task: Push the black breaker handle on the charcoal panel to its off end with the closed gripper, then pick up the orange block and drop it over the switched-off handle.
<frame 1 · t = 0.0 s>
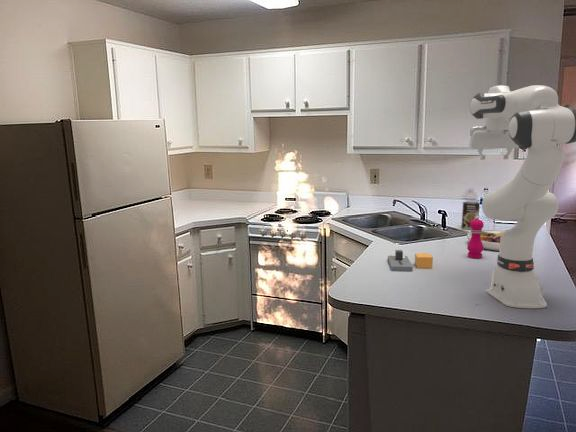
hand: (494, 159, 195), 48 cm above the worktop, tool pointing down, fingers open, 8 cm apart
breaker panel: (399, 265, 211), on the worktop
orange block: (423, 265, 210), on the worktop
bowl: (497, 245, 243), on the worktop
breaker handle: (399, 254, 213), point 4 cm above the worktop, slide at 7.0 cm
coffee box: (469, 229, 280), on the worktop
pepper mill: (474, 257, 222), on the worktop
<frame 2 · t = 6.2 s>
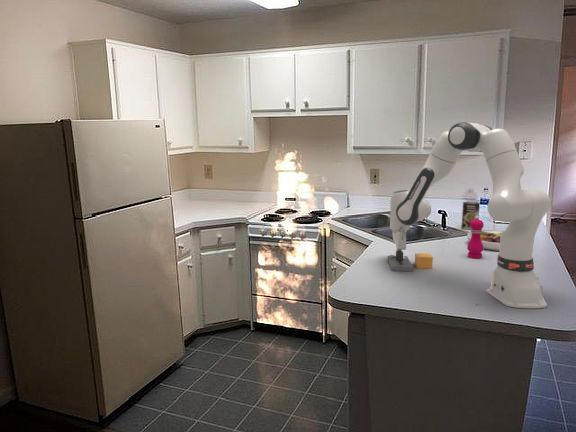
hand: (398, 254, 215), 4 cm above the worktop, tool pointing down, fingers closed
breaker handle: (399, 255, 212), point 4 cm above the worktop, slide at 5.6 cm, touching gripper
everything else where it was.
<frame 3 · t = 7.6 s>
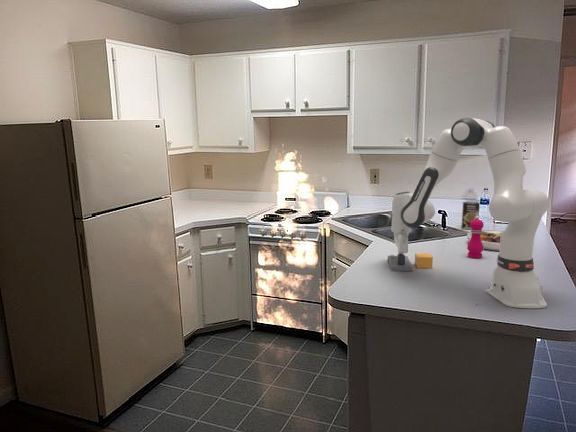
hand: (400, 257, 209), 4 cm above the worktop, tool pointing down, fingers closed
breaker handle: (401, 259, 206), point 4 cm above the worktop, slide at -0.2 cm, touching gripper
everything else where it was.
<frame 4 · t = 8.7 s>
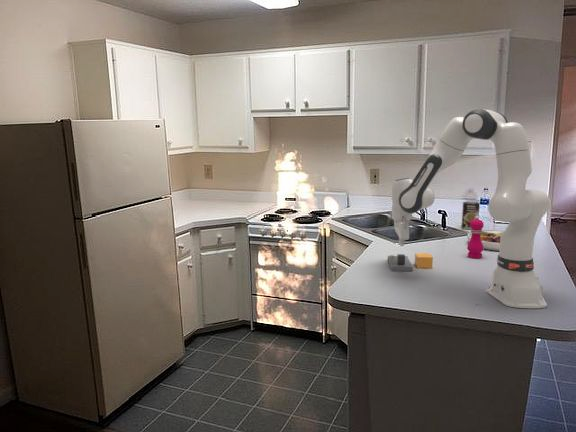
hand: (401, 245, 207), 10 cm above the worktop, tool pointing down, fingers closed
breaker handle: (401, 259, 206), point 4 cm above the worktop, slide at -0.1 cm
everything else where it was.
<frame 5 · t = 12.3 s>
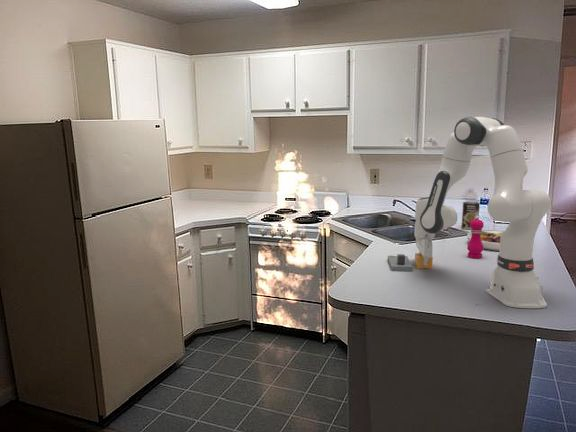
hand: (423, 262, 209), 2 cm above the worktop, tool pointing down, fingers closed on orange block, 7 cm apart
orange block: (423, 265, 210), on the worktop, touching gripper
everything else where it was.
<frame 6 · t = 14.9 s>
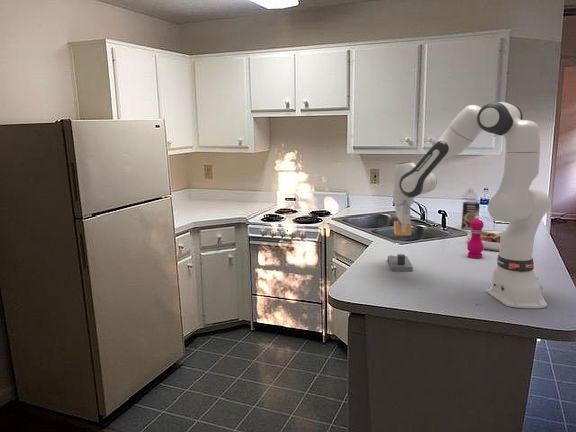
hand: (402, 229, 204), 17 cm above the worktop, tool pointing down, fingers closed on orange block, 7 cm apart
orange block: (402, 233, 205), point 16 cm above the worktop, touching gripper
everything else where it was.
when the fingers open (5 cm above the worktop, at t = 17.8 s): orange block drops 1 cm, resting on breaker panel.
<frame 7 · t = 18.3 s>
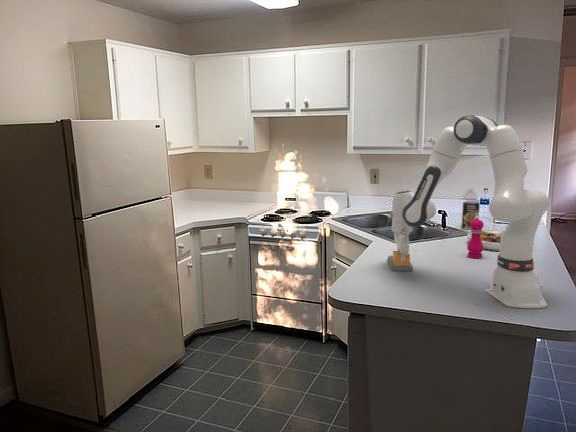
hand: (401, 257, 206), 5 cm above the worktop, tool pointing down, fingers open, 8 cm apart
orange block: (401, 263, 207), point 2 cm above the worktop, touching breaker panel
everything else where it was.
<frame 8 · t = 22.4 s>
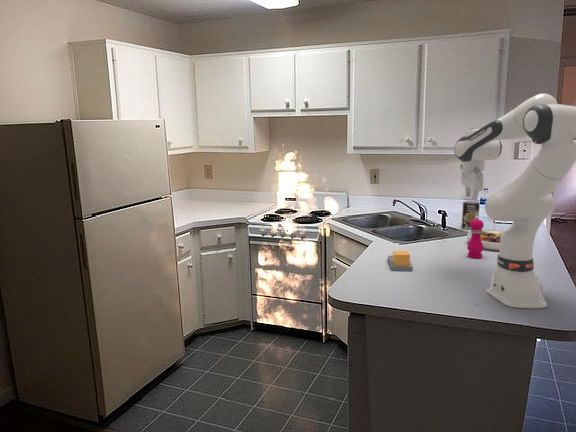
hand: (471, 198, 201), 31 cm above the worktop, tool pointing down, fingers open, 8 cm apart
nothing on the worktop moved.
at the end: breaker handle slide at -0.1 cm; orange block 0.5 cm from the target spot on the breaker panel, point 2.0 cm above the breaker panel's base; orange block tilted 0° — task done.
